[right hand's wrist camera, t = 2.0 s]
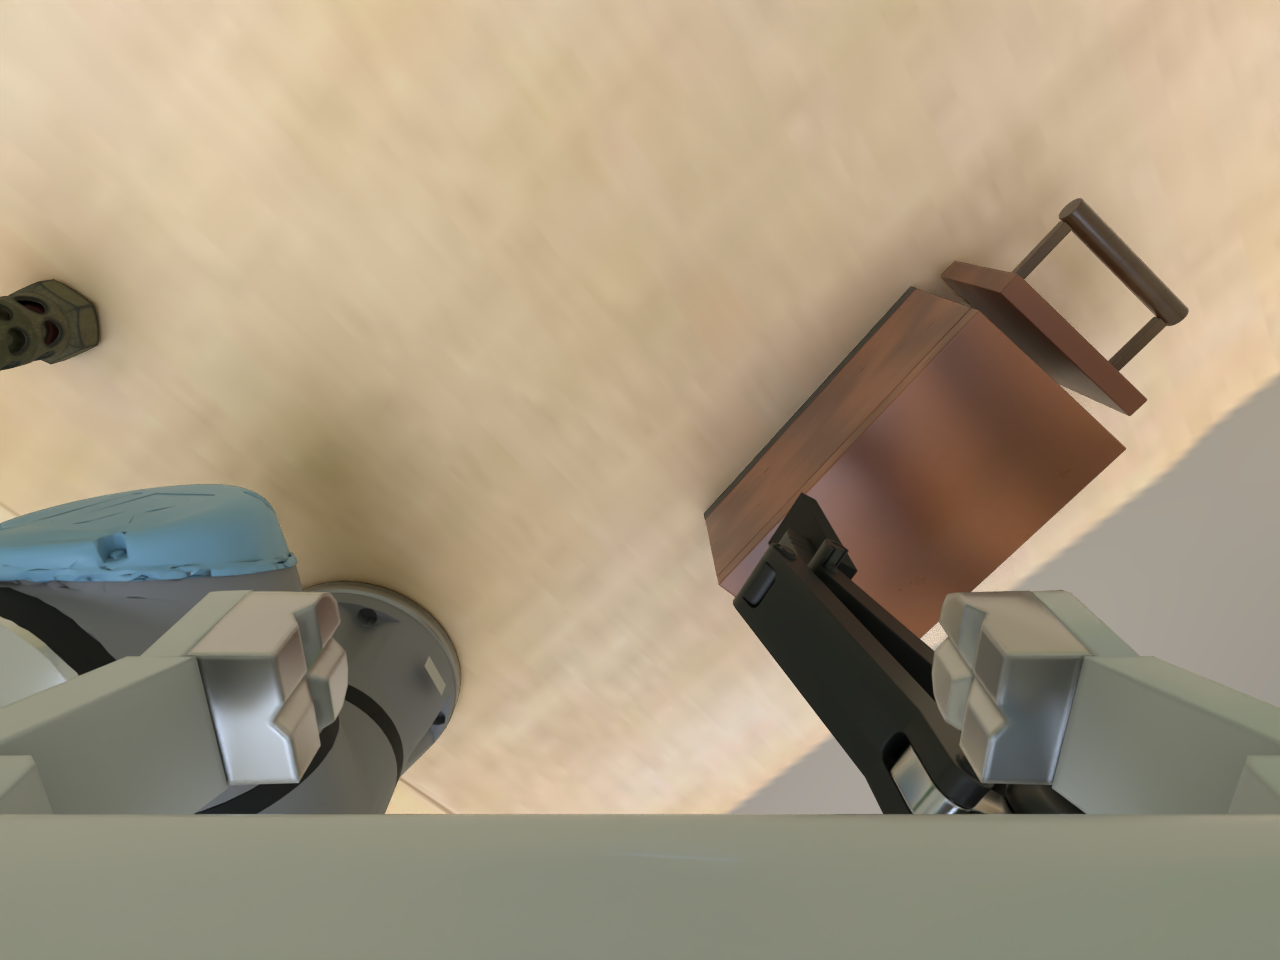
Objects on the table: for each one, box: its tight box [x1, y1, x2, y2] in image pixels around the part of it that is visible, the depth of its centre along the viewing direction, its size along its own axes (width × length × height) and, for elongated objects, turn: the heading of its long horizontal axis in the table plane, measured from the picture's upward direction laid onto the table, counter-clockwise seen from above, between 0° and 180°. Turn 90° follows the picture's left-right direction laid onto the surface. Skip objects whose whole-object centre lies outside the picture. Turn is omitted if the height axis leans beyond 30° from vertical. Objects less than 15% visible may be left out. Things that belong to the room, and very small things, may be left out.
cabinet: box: [704, 287, 1126, 639], centre depth 46 cm, size 20×12×10 cm, turn 141°
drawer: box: [941, 198, 1189, 416], centre depth 45 cm, size 24×10×8 cm, turn 141°
